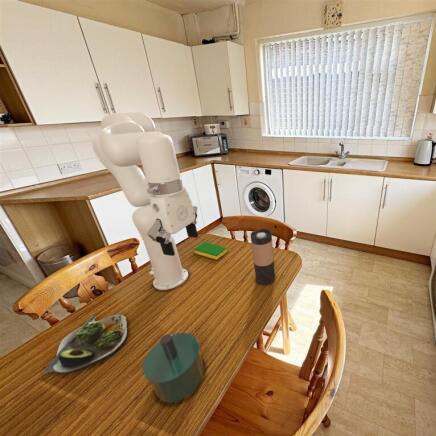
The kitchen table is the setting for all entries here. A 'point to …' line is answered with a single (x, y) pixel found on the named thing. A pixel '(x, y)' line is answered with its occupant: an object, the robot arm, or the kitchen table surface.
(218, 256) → the dish sponge
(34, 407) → the kitchen table surface
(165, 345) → the lid
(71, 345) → the salad plate
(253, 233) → the travel mug
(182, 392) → the pot
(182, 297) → the kitchen table surface
